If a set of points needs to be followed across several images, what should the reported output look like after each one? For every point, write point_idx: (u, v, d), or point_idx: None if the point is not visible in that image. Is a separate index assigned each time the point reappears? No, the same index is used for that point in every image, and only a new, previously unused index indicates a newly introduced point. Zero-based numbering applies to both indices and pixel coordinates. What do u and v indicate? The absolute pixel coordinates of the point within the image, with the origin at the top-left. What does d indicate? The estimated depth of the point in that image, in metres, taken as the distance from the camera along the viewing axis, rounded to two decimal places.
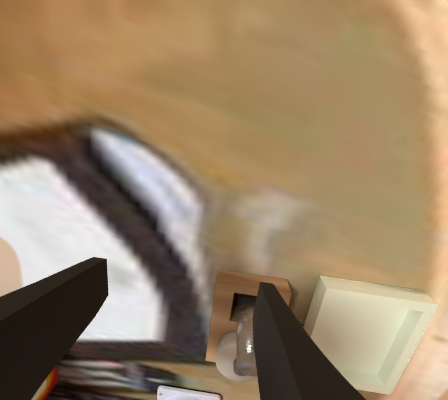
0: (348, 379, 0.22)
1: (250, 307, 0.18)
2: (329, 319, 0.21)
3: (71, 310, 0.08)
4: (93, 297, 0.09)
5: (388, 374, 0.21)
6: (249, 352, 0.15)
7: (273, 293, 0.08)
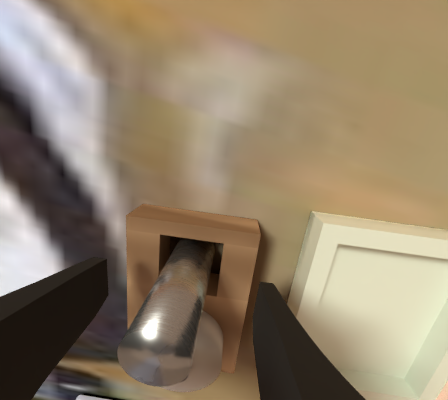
0: (359, 386, 0.14)
1: (183, 256, 0.10)
2: (328, 287, 0.13)
3: (71, 310, 0.08)
4: (93, 297, 0.09)
5: (426, 378, 0.13)
6: (141, 331, 0.06)
7: (273, 293, 0.08)
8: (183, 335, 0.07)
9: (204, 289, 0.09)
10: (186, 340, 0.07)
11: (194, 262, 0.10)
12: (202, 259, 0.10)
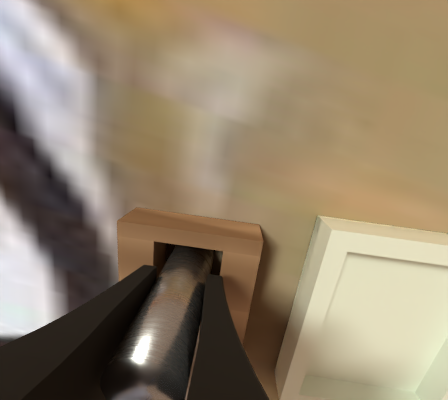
0: None
1: (179, 266, 0.09)
2: (335, 297, 0.12)
3: (132, 320, 0.08)
4: None
5: (439, 393, 0.12)
6: (127, 360, 0.05)
7: (215, 284, 0.08)
8: (175, 364, 0.06)
9: (201, 303, 0.08)
10: (179, 369, 0.06)
11: (190, 272, 0.09)
12: (199, 269, 0.10)
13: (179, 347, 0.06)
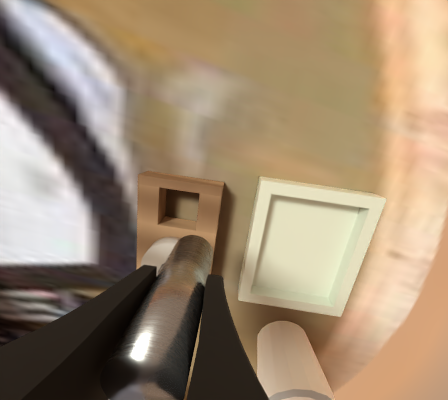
0: (294, 299, 0.20)
1: (178, 264, 0.09)
2: (272, 229, 0.19)
3: None
4: None
5: (337, 291, 0.19)
6: (126, 357, 0.05)
7: (215, 284, 0.08)
8: (175, 360, 0.06)
9: (201, 301, 0.08)
10: (178, 365, 0.06)
11: (190, 271, 0.09)
12: (199, 267, 0.10)
13: (178, 344, 0.06)
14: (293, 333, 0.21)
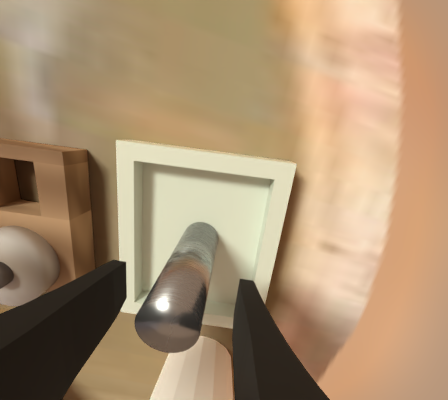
0: None
1: (189, 243, 0.11)
2: (157, 213, 0.14)
3: (95, 314, 0.08)
4: (114, 300, 0.09)
5: None
6: (155, 302, 0.07)
7: (250, 290, 0.08)
8: (192, 306, 0.07)
9: (209, 271, 0.10)
10: (194, 310, 0.07)
11: (199, 248, 0.11)
12: (206, 246, 0.11)
13: (194, 296, 0.08)
14: (202, 354, 0.16)
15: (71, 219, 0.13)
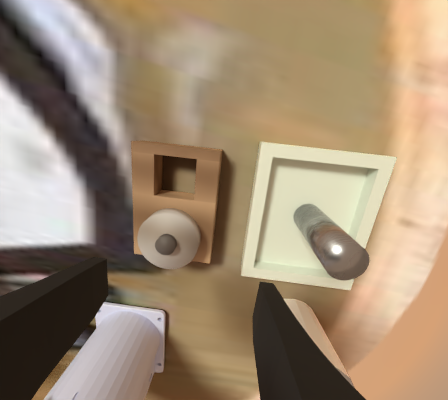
0: (300, 273, 0.19)
1: (321, 216, 0.15)
2: (274, 198, 0.18)
3: (71, 310, 0.08)
4: (93, 297, 0.09)
5: None
6: (343, 244, 0.11)
7: (273, 293, 0.08)
8: (363, 248, 0.12)
9: None
10: None
11: (330, 219, 0.15)
12: None
13: (358, 243, 0.12)
14: (300, 310, 0.20)
15: (215, 202, 0.17)
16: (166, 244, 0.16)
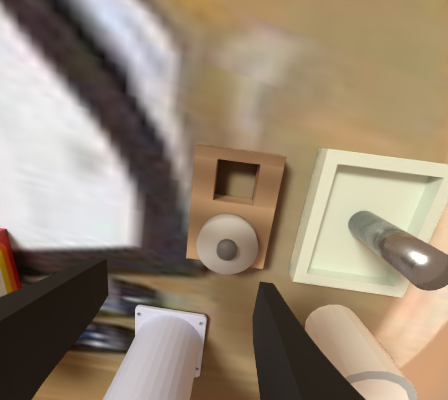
0: (353, 279, 0.19)
1: (388, 224, 0.15)
2: (331, 204, 0.18)
3: (71, 310, 0.08)
4: (93, 297, 0.09)
5: None
6: (434, 254, 0.11)
7: (273, 293, 0.08)
8: None
9: None
10: None
11: (398, 227, 0.15)
12: (395, 226, 0.15)
13: None
14: (349, 316, 0.20)
15: (274, 208, 0.17)
16: (228, 249, 0.16)
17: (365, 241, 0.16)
